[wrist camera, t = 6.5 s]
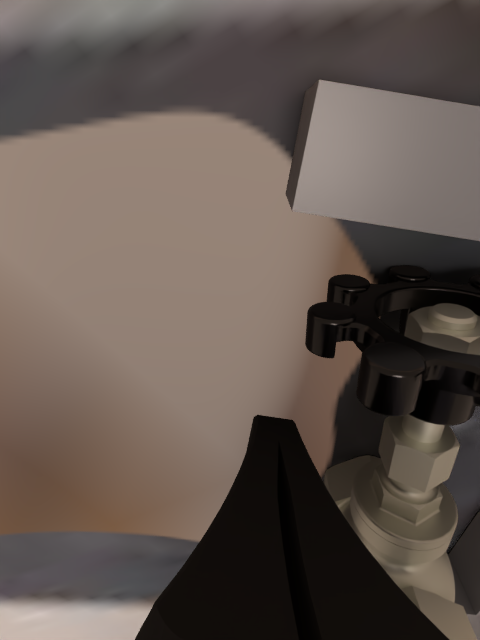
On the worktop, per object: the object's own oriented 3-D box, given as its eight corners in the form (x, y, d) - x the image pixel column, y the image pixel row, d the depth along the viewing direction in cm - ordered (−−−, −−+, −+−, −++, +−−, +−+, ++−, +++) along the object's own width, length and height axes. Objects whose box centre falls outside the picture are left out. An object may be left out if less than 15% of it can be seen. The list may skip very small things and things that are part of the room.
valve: (429, 518, 17) (514, 263, 11) (522, 729, 11) (796, 410, 5) (283, 513, 17) (296, 264, 12) (295, 714, 11) (332, 403, 6)
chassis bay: (467, 587, 19) (494, 649, 17) (215, 552, 18) (209, 610, 16) (797, 173, 10) (960, 187, 7) (305, 92, 9) (319, 79, 7)
